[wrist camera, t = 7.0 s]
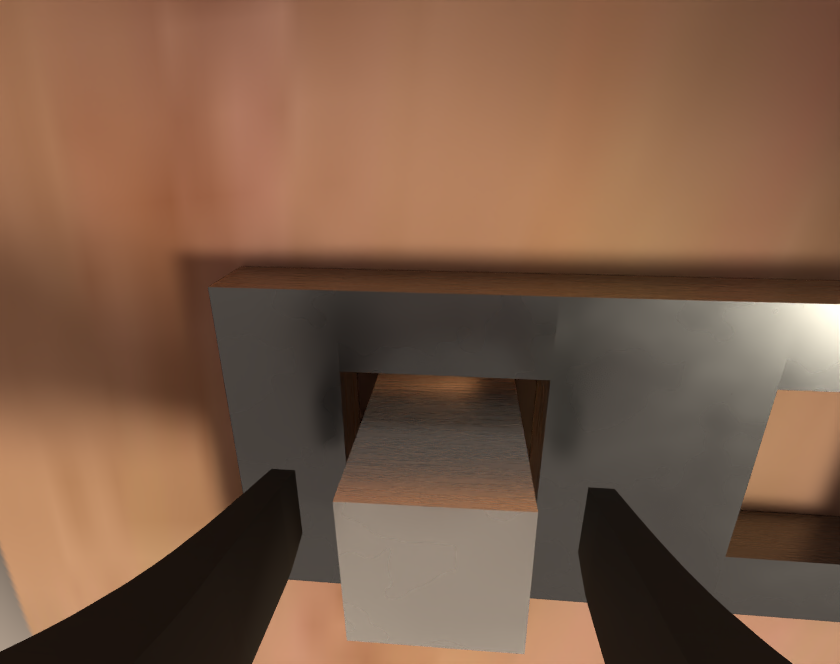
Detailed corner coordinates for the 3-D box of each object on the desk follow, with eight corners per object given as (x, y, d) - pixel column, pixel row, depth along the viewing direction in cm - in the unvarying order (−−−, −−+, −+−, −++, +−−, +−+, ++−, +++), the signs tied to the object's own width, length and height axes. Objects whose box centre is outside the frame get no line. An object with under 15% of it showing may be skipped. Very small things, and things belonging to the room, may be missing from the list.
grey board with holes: (1124, 287, 13) (1249, 318, 11) (959, 578, 16) (1028, 642, 14) (240, 266, 14) (204, 289, 12) (278, 531, 18) (254, 582, 16)
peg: (512, 370, 15) (537, 512, 10) (506, 477, 17) (524, 654, 11) (381, 366, 15) (332, 501, 10) (386, 472, 17) (346, 640, 11)
